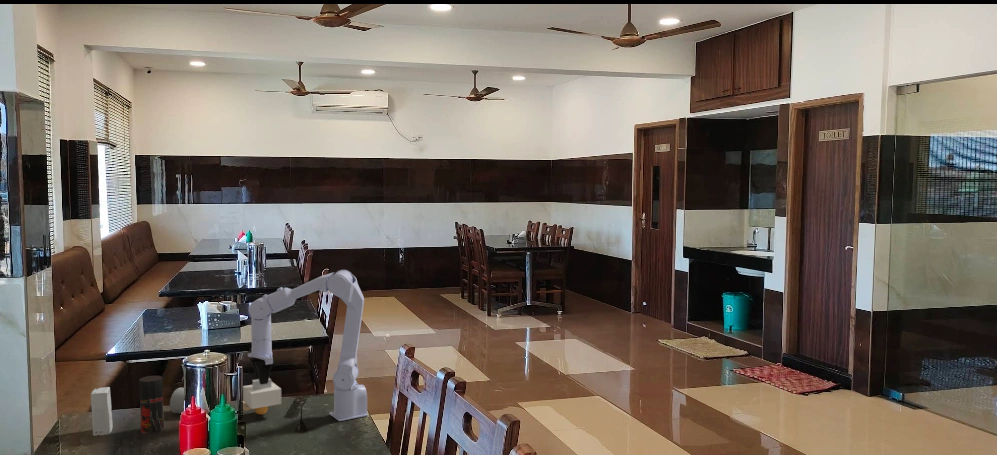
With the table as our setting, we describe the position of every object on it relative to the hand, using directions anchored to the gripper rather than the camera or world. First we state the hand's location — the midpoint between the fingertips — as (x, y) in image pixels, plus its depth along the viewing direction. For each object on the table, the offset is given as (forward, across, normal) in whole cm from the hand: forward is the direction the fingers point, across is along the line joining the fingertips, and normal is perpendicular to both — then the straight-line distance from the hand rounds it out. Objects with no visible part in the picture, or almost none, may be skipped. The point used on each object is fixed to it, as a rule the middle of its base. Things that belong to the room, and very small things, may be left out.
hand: (262, 382), depth 223 cm
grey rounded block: (+11, -16, -17) cm, 25 cm away
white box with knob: (+6, 0, 0) cm, 6 cm away
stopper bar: (+10, -8, 0) cm, 13 cm away
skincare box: (+11, -11, -42) cm, 45 cm away
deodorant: (+10, -5, -30) cm, 32 cm away
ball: (+8, -2, 0) cm, 8 cm away
